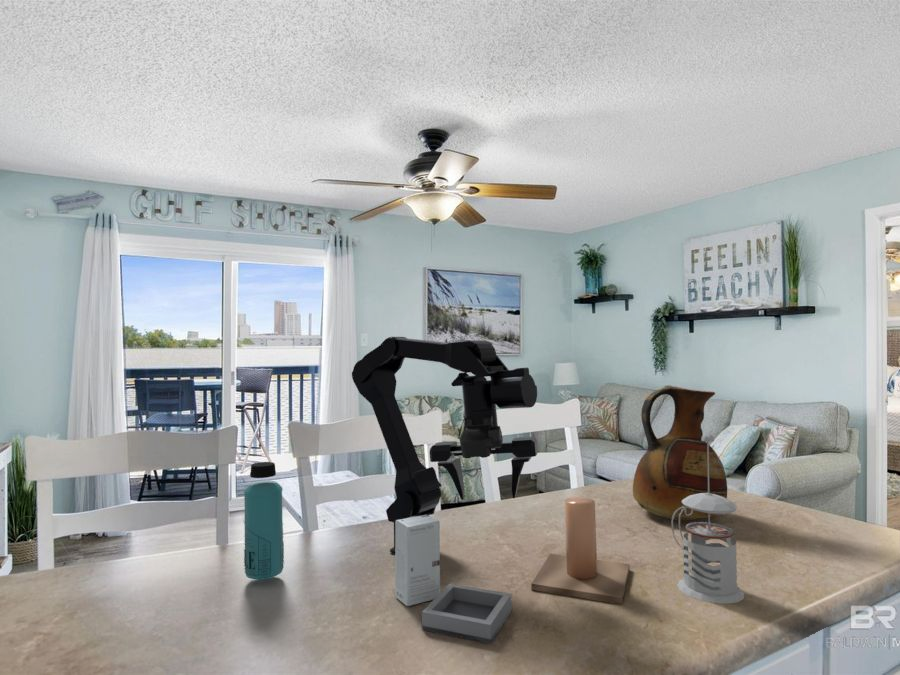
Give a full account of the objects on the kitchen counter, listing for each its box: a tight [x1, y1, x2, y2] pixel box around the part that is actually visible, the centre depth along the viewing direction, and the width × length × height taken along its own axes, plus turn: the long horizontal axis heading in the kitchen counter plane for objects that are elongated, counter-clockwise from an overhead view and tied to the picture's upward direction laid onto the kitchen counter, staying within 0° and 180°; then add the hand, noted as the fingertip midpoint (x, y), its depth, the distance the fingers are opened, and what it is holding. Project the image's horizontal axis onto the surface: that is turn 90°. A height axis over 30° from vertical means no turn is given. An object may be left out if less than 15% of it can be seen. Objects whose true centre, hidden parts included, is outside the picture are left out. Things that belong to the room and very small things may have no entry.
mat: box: [531, 553, 630, 605], centre depth 94 cm, size 14×14×1 cm
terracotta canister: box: [564, 496, 598, 579], centre depth 94 cm, size 5×5×12 cm
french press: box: [671, 433, 745, 605], centre depth 90 cm, size 10×12×25 cm
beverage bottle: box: [242, 461, 285, 580], centre depth 95 cm, size 6×7×20 cm
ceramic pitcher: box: [632, 384, 728, 521], centre depth 129 cm, size 20×20×30 cm
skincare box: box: [394, 515, 441, 607], centre depth 88 cm, size 6×4×12 cm
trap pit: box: [421, 583, 513, 645], centre depth 80 cm, size 10×10×2 cm
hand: (488, 498), depth 98 cm, fingers open, 9 cm apart
